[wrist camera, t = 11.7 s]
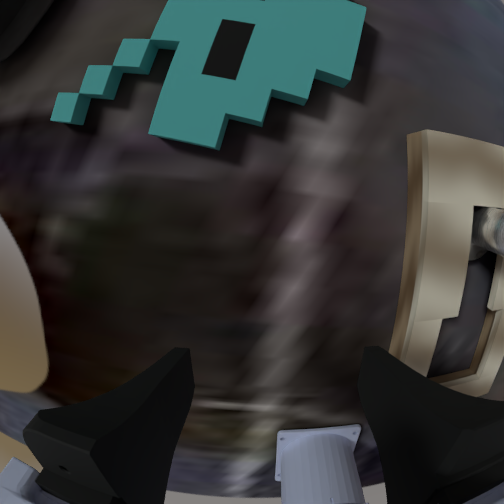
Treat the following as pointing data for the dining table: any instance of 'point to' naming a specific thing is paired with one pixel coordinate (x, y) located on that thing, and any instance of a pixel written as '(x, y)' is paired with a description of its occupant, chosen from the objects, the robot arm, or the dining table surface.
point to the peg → (487, 232)
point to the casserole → (19, 22)
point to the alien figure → (229, 63)
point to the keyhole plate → (447, 253)
